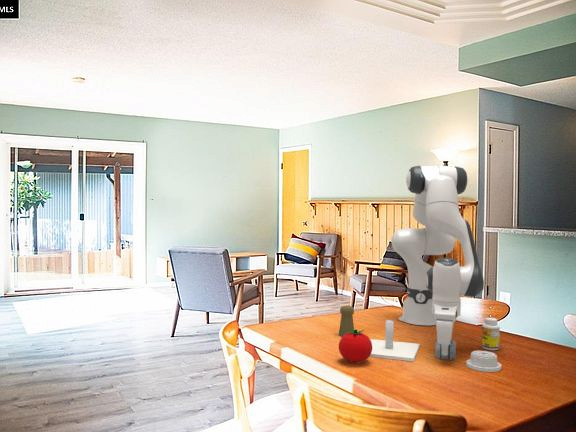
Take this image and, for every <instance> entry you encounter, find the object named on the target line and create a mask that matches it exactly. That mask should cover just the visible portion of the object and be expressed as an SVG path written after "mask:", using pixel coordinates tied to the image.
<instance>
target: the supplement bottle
mask: <svg viewBox="0 0 576 432" xmlns="http://www.w3.org/2000/svg"><path fill="white" fill-rule="evenodd" d="M500 330H501V328H500V325H499V324H498V319H497V318H494V317H486V318H484V323H482V328H481V334H482V335H481V347H482V349H484V350H486V351H497V350H499V349H500Z"/></svg>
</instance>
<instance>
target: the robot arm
mask: <svg viewBox="0 0 576 432" xmlns="http://www.w3.org/2000/svg"><path fill="white" fill-rule="evenodd" d="M405 177H406V178H405V182H406V186H407V190H408V191H409V192H410V193H412V194H415V195H414V196H415V197H414V202H413V209H412V210H413V211H412V215H413V218H414V220H415V221H416V222H418V224H421V225H422V226H424V228H423V227H422V228H421V227H420V228H419V227H418V228H416V227H415V228H412V227H411V228H408V227H407V228H401V229H397V230H395V231H394V233H392V234H393V235H392V236H391V240H390V242H391V247H392V250H394V252H395V253H397V254H398V255H399V256H400V257H401V258H402V259H403V260H404V263H405V265H406V267H407V275H408V287H407V291H406V295H407V297H406V299H404V300H403V303H402V304H403V305H402V306H403V307H402V315H401V316H399V317H398V321H401V322H405V323H406V324H409V325H410V324H411V325H416V326H436V337H437V339H438V343H439V344H441V348H442V355H445V356H447V355H448V345H450V342H451V340H452V336H453V335H452V334H453V330H454V323H455V322H456V321H457V318H458V317H460V316H461V315H462V314H461V311H462V310H461V309H462V308H461V307H462V305H461V304H462V302H461V301H462V298H461V296H463V297H471V298H474V297H477V296H478V295H479V294H481V293H482V292H483V291H484V289H485V288H484V287H485V279H484V275H483V273H482V269H481V264H480V261H479V257H478V256H479V255H478V252H477V247H476V244H475V239H474V235H473V232H472V228H471V225H470V223H469V221H468V220H466V219H464V218H463V216H462V214H461V212H460V208H459V206H460V205H459V195H461V194H463V193H464V192H465V191H466V190H467V189H466V188H467V186H468V182H469V180H468V173H467V171H466V169H464V168H463V167H461V166H460V167H459V166H450V165H440V164H439V165H437V164H436V165H422V166H421V165H415V166H412V167H410V168H409V169H408V171H407V174H406V176H405ZM456 240H457V241H458V242H459V243H460V244H461V250H462V253H463V258H464V262H465V265H463V266H461V265H460V262H459V260H457V259H456V258H452V257H440V258H437V259H435V261H434V265H433V266H432V265H430V264H429V263H427V262H425V261H423V257H422V256H440V255H446V254H450V253H451V252H453V249H454V248H455V245H456Z"/></svg>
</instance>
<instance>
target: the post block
mask: <svg viewBox="0 0 576 432" xmlns="http://www.w3.org/2000/svg"><path fill="white" fill-rule="evenodd" d="M394 321H395V320H391V319H389V320H388V319H387V320H385V335H384V337H385V339H383V340H382V339H372V338H369V339H370V340H371V342H372V352H371V355H370V356H369V358H377V359H388V360H397V361H405V362H414V361H415V360H416V357H417V354H418V351H419V349H420V343H413V342H405V341H394V325H395V324H394Z"/></svg>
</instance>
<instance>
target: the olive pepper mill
mask: <svg viewBox="0 0 576 432" xmlns="http://www.w3.org/2000/svg"><path fill="white" fill-rule="evenodd" d="M339 312H340V315H341V316H340V322H339V323H340V324H339V328H338V329H339V330H338V336H339V337H341V338H342V337H343V336H344V335H345V334H347V333H349V332H352V331H351V329H353V330H355V326H354V317H353V316H354V314H355V309H354V307H353V306H351V305H342V306H340V309H339ZM346 331H347V332H346Z"/></svg>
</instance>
